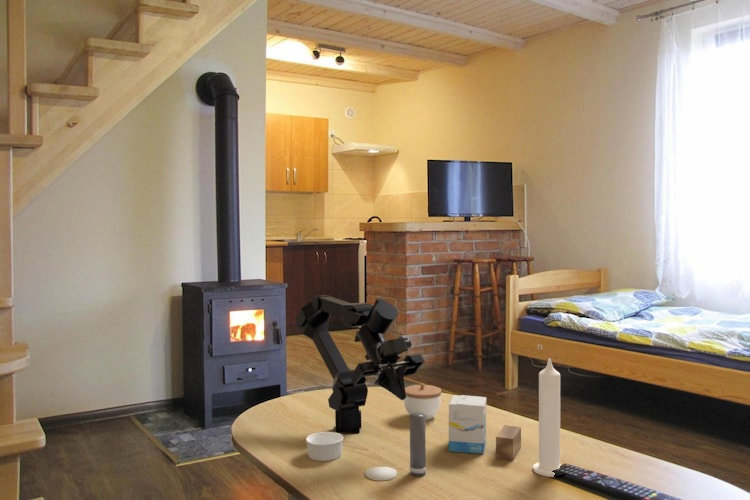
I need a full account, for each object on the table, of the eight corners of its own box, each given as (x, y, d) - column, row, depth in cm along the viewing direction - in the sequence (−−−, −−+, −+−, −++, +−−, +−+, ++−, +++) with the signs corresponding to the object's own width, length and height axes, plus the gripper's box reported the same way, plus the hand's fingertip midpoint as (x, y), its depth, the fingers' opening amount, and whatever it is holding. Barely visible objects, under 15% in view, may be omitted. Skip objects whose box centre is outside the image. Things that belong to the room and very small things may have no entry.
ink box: (483, 454, 149) (483, 405, 148) (448, 451, 151) (447, 403, 150) (487, 442, 157) (487, 396, 156) (453, 439, 159) (452, 394, 159)
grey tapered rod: (410, 476, 136) (410, 417, 135) (409, 470, 139) (408, 412, 139) (426, 476, 136) (426, 417, 136) (425, 470, 140) (424, 412, 139)
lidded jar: (448, 414, 179) (447, 382, 179) (430, 425, 170) (430, 390, 170) (415, 409, 185) (414, 377, 185) (396, 418, 176) (396, 385, 176)
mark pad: (365, 481, 134) (365, 479, 134) (365, 468, 141) (365, 466, 141) (398, 480, 134) (398, 479, 134) (396, 467, 141) (396, 466, 141)
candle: (566, 466, 141) (567, 355, 140) (565, 479, 134) (565, 362, 133) (534, 463, 143) (534, 354, 142) (531, 475, 136) (531, 360, 135)
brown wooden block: (496, 457, 146) (495, 436, 146) (504, 445, 155) (504, 425, 154) (513, 460, 145) (513, 439, 144) (521, 447, 153) (521, 427, 153)
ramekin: (309, 464, 144) (309, 446, 144) (303, 451, 152) (303, 433, 152) (347, 460, 146) (347, 441, 146) (339, 447, 155) (339, 429, 155)
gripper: (356, 329, 145) (385, 385, 136) (419, 321, 156) (450, 372, 147) (339, 357, 152) (366, 413, 143) (400, 348, 163) (428, 399, 154)
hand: (404, 398), depth 147 cm, fingers closed
